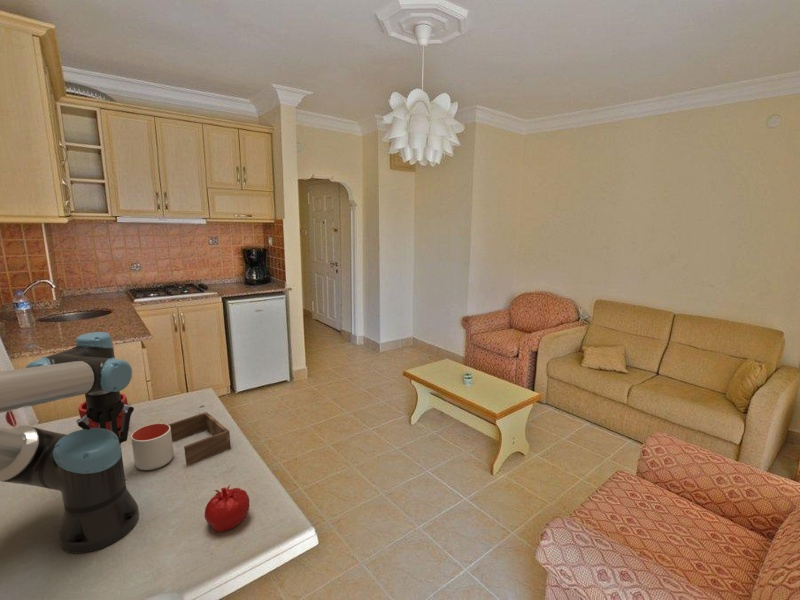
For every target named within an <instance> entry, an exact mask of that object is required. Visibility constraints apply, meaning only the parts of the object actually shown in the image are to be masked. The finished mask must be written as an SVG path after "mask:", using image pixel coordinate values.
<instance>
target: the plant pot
mask: <svg viewBox="0 0 800 600" xmlns="http://www.w3.org/2000/svg"><path fill="white" fill-rule="evenodd" d="M120 397H121V401H122V402H123V403H124V405H129V403H128V398H127V395H126V394H125V393H121V392H120ZM77 409H78V415H79V417H80V418H79V419H82V418H83V417H84V416H85V415H86V411H87V404H86V400H85V401H83V402H82V403H81V404H80V405H79V406H78V408H77ZM123 413H124V412H123V409H122V411H121V412H120V414H119V416H118V417H117V418H116V419H117V427H118V434H119V436H120V433H121V426H122V419H123ZM88 421H89V424H88V426H89V427H90V429H91V428H99V426H98V423H96V422H94V421H93V420H91V419H88ZM106 429H107V430H110V431H111V428H110V422H109V421H108V422H106Z"/></svg>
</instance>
